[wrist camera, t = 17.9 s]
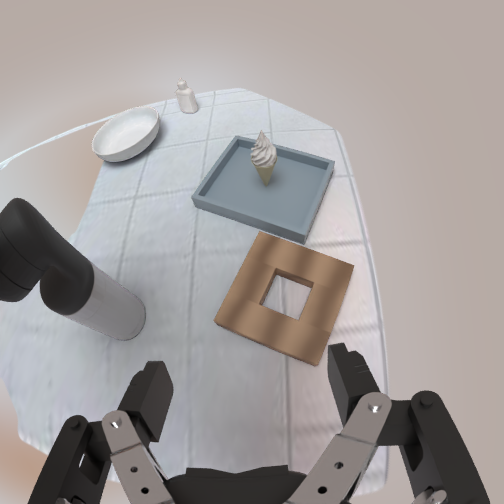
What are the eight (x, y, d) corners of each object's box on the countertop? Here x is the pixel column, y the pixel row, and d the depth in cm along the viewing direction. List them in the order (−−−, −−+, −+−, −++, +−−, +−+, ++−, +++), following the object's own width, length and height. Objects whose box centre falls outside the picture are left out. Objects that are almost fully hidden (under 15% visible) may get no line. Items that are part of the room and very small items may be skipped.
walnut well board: (217, 324, 48) (213, 320, 45) (260, 239, 55) (259, 231, 52) (315, 366, 43) (317, 364, 40) (350, 272, 50) (354, 265, 47)
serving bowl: (164, 114, 78) (157, 97, 72) (167, 156, 69) (159, 136, 62) (104, 137, 77) (96, 122, 71) (98, 182, 68) (86, 165, 62)
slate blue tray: (195, 207, 60) (191, 197, 57) (237, 146, 67) (235, 135, 64) (303, 244, 53) (305, 235, 50) (332, 172, 61) (334, 161, 58)
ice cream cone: (268, 173, 61) (264, 118, 47) (283, 186, 59) (282, 131, 45) (249, 184, 60) (241, 129, 46) (263, 198, 58) (258, 143, 44)
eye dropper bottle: (186, 117, 76) (176, 84, 65) (180, 109, 78) (170, 78, 67) (199, 111, 76) (190, 78, 66) (193, 104, 79) (184, 72, 68)
